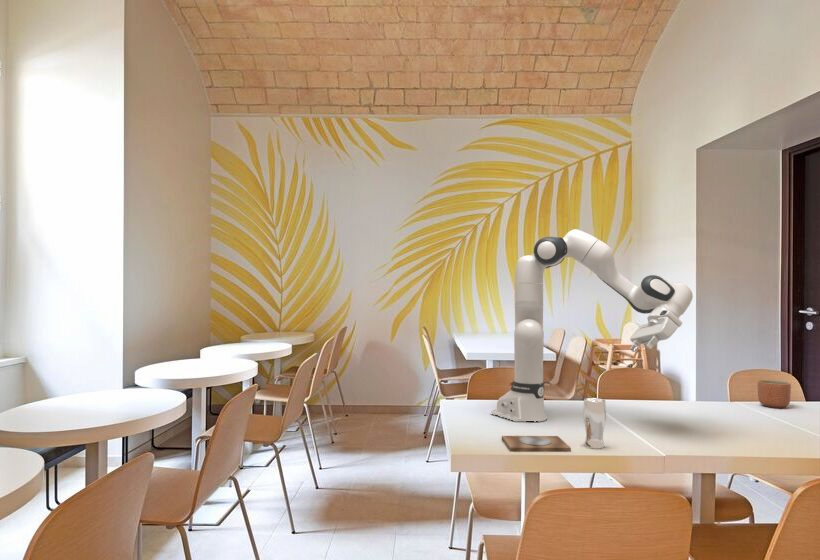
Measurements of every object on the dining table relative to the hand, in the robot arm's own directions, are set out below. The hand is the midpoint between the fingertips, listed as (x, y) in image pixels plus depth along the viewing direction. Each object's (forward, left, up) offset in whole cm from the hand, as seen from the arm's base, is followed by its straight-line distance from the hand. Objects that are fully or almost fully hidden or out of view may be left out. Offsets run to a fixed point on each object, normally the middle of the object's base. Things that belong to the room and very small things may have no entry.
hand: (639, 349), depth 196 cm
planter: (+14, +95, -30) cm, 101 cm away
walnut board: (-16, -39, -30) cm, 52 cm away
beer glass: (-3, -25, -30) cm, 39 cm away
